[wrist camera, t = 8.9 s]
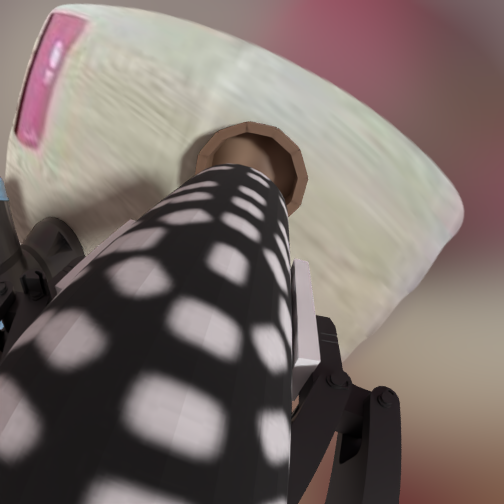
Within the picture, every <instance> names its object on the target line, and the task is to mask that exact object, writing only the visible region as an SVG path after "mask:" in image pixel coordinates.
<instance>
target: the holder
mask: <svg viewBox="0 0 504 504" xmlns="http://www.w3.org/2000/svg"><path fill="white" fill-rule="evenodd" d="M227 163H229V164H241V165H244V166H248V167H251V168H253V169H255V170H257V171H259V172H261V173H263V174H264V175H265V176H267V177H268V178H269V179H270V180H271V181H272V182H273V183H274V184H275V185H276V186H277V187H278V189H279V190H280V192H281V194H282V196H283V198H284V200H285V203H286V206H287V211H288V217H289V216H290V215H291V214H292V213H293V212H295V211H296V210H297V209H298V208H299V207H300V205H301V202H302V199H303V195H304V192H305V188H306V185H307V181H308V175H307V172H306V168H305V165H304V161H303V157H302V154H301V150H300V149H299V147H298V146H297V145H296V144H295V143H294V142H293V141H292V140H291V139H290V138H289V137H288V136H287V135H285V134H284V133H283V132H282V131H281V130H280V129H279V128H278V129H277V127H274V126H270V125H266V124H261V123H256V122H251V121H250V122H243V123H240V124H237V125H234V126H231V127H228V128H225V129H222V130H219V131H218V132H216V133H215V134H214V136H213V137H212V138H211V139H210V140H209V141H208V143H207V144H206V145H205V146H204V147H203V149H202V150H201V151H200V152H199V154H198V158H197V164H196V171H195V175H196V174H198V173H200V172H201V171H203V170H204V169H206V168H209V167H212V166H215V165H220V164H227Z"/></svg>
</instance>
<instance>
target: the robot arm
mask: <svg viewBox="0 0 504 504" xmlns="http://www.w3.org/2000/svg"><path fill="white" fill-rule="evenodd" d="M8 201H9V198H8V197H7V194H6V190H5V186H4V182H3V179H2V178H1V177H0V362H1V360H2V359H3V358H4V356H5V355H6V354H7V352H8V351H9V350H10V349H11V347H12V346H13V345H14V344H15V342H16V341H17V340H18V339H19V337H20V336H21V335H22V334H23V333H24V331H25V330H26V329H27V328H28V327H29V325H30V324H31V323H32V322H33V321H34V320H35V319H36V317H37V316H38V315H39V314H40V313H41V312H42V311H43V310H44V309H45V307H46V306H47V305H48V304H49V303H50V302H51V301H52V300H53V299H54V298H55V297H56V296H57V295H58V294H59V292H60V291H61V290H62V289H63V288H64V287H65V286H66V285H67V284H68V283H69V282H70V281H71V280H72V279H73V278H74V277H75V276H76V275H77V274H78V273H79V272H80V271H81V270H82V269H83V268H84V267H85V266H87V265H88V264H89V263H90V262H91V261H92V260H93V259H94V258H95V257H96V256H97V255H98V254H99V253H100V252H102V251H103V250H104V249H105V248H106V247H107V246H108V245H109V244H110V243H111V242H113V241H114V240H115V239H116V238H117V237H118V236H119V235H121V234H122V233H123V232H124V231H125V230H126V229H128V228H129V227H130V226H131V225H132V224H133V223H135V222H136V221H135V220H131V219H130V220H129V221H127V222H126V223H125V224H124V225H122V226H121V227H120V228H119V229H118V230H116V231H115V232H114V233H113V234H112V235H110V236H109V237H108V238H107V239H106V240H104V241H103V242H102V243H101V244H100V245H99V246H97V247H96V248H95V249H94V250H93V251H92V252H91V253H90V254H88V255H87V256H85V255H84V252H83V249H82V246H81V244H80V242H79V240H78V238H77V237H76V235H75V234H74V232H73V231H72V230H71V229H70V228H69V227H68V226H67V225H66V224H65V223H64V222H63V221H61V220H59V219H57V218H54V217H48V218H45V219H43V220H42V221H40V222H38V223H37V224H36V225H35V226H34V228H33V229H32V231H31V232H30V234H29V235H28V236H27V238H26V239H25V241H24V242H23V244H22V245H20V243H19V240H18V236H17V233H16V230H15V226H14V223H13V219H12V215H11V211H10V206H9V202H8ZM291 303H292V401H295V399H296V398H297V396H298V395H299V404H298V406H297V407H296V408H295V410H294V411H293V412H292V417H291V440H290V464H289V482H288V498H287V504H298V503H299V501H300V499H301V497H302V496H303V494H304V492H305V491H306V488H307V487H308V485H309V483H310V482H311V480H312V478H313V476H314V474H315V472H316V470H317V468H318V466H319V464H320V462H321V460H322V458H323V456H324V454H325V452H326V450H327V448H328V446H329V444H330V441H331V439H332V437H333V435H334V432H335V431H337V432H338V435H337V443H336V449H335V455H334V462H333V468H332V473H331V478H330V483H329V488H328V493H327V498H326V502H325V504H399V494H400V480H401V417H400V402H399V398H398V397H397V395H396V393H395V392H394V391H393V390H391V389H390V388H388V387H385V386H379V387H376V388H374V389H373V391H372V392H371V391H368V390H365V389H363V388H360V387H358V386H356V385H354V384H352V381H351V378H350V377H349V376H348V375H347V373H346V372H344V371H343V368H342V362H341V356H340V350H339V344H338V338H337V333H336V328H335V325H334V324H333V322H332V321H331V319H330V318H328V317H323V316H318V315H315V306H314V299H313V291H312V284H311V277H310V270H309V263H308V261H304V260H299V259H295V258H294V261H293V264H292V267H291Z"/></svg>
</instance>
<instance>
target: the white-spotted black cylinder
mask: <svg viewBox="0 0 504 504" xmlns="http://www.w3.org/2000/svg"><path fill="white" fill-rule="evenodd" d="M291 417H292V303H291V269H290V244H289V224H288V211H287V206H286V203H285V200H284V198H283V196H282V194H281V192H280V190H279V189H278V187H277V186H276V185H275V184H274V183H273V182H272V181H271V180H270V179H269V178H268V177H267V176H265V175H264V174H263V173H261V172H259V171H257V170H255V169H253V168H251V167H248V166H244V165H241V164H229V163H227V164H220V165H215V166H212V167H209V168H206V169H204V170H203V171H201V172H200V173H198V174H196V175H195V176H194V177H192V178H191V179H190V180H188V181H187V182H185V183H184V184H183V185H181V186H180V187H179V188H177V189H176V190H175V191H173V192H172V193H171V194H170V195H168V196H167V197H166V198H164V199H163V200H162V201H160V202H159V203H158V204H157V205H155V206H154V207H153V208H152V209H150V210H149V211H148V212H147V213H146V214H144V215H143V216H142V217H141V218H139V219H138V220H137V221H136V222H135V223H133V224H132V225H131V226H130V227H129V228H128V229H126V230H125V231H124V232H123V233H122V234H121V235H119V236H118V237H117V238H116V239H115V240H114V241H113V242H111V243H110V244H109V245H108V246H107V247H106V248H105V249H104V250H103V251H102V252H100V253H99V254H98V255H97V256H96V257H95V258H94V259H93V260H92V261H91V262H90V263H89V264H88V265H87V266H85V267H84V268H83V269H82V270H81V271H80V272H79V273H78V274H77V275H76V276H75V277H74V278H73V279H72V280H71V281H70V282H69V283H68V284H67V285H66V286H65V287H64V288H63V289H62V290H61V291H60V292H59V294H58V295H57V296H56V297H55V298H54V299H53V300H52V301H51V302H50V303H49V304H48V305H47V306H46V307H45V309H44V310H43V311H42V312H41V313H40V314H39V315H38V316H37V317H36V319H35V320H34V321H33V322H32V323H31V324H30V325H29V327H28V328H27V329H26V330H25V331H24V333H23V334H22V335H21V336H20V337H19V339H18V340H17V341H16V342H15V344H14V345H13V346H12V347H11V349H10V350H9V351H8V352H7V354H6V355H5V356H4V358H3V359H2V360H1V362H0V504H287V498H288V482H289V464H290V440H291Z"/></svg>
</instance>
